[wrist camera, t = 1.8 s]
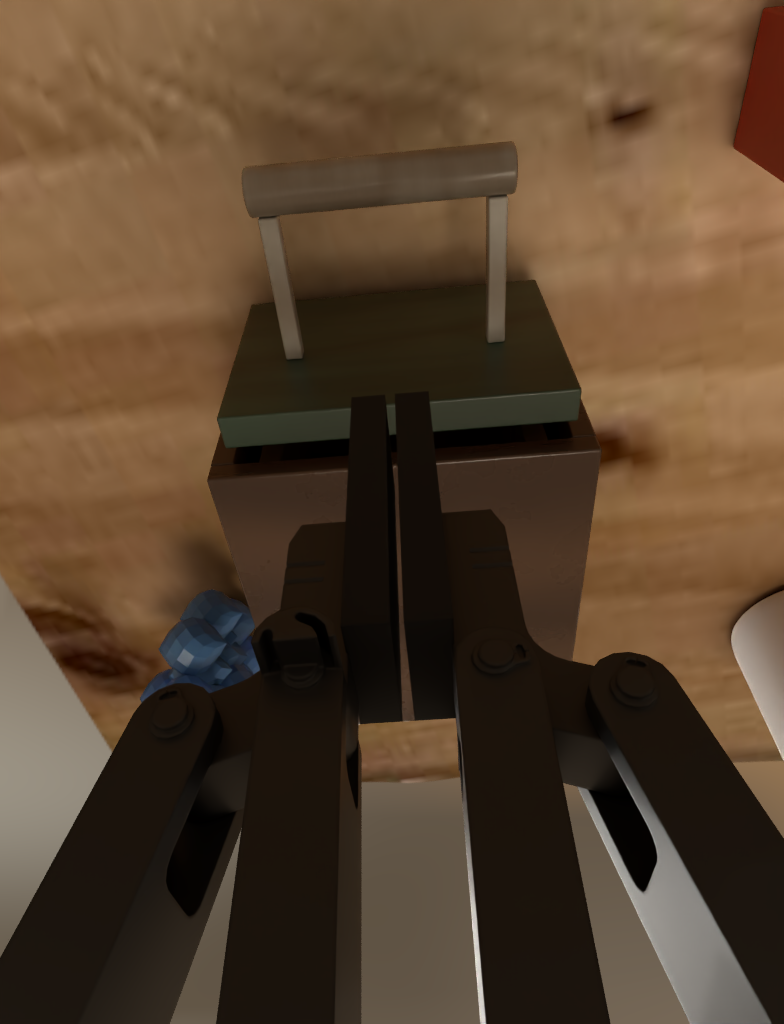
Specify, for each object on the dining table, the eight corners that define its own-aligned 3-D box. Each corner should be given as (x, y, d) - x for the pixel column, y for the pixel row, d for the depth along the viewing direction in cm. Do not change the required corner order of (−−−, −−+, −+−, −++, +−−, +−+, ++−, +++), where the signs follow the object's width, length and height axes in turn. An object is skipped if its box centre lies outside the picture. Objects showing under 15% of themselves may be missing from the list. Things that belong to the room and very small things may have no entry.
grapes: (129, 542, 38) (52, 742, 29) (251, 530, 38) (212, 730, 28) (194, 671, 46) (148, 861, 37) (296, 662, 45) (276, 853, 36)
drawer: (212, 134, 24) (155, 215, 18) (544, 100, 24) (605, 173, 17) (306, 544, 37) (292, 675, 31) (522, 529, 37) (552, 658, 30)
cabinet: (248, 333, 30) (205, 480, 22) (544, 308, 30) (602, 449, 22) (305, 570, 40) (288, 729, 32) (528, 554, 39) (565, 712, 31)
